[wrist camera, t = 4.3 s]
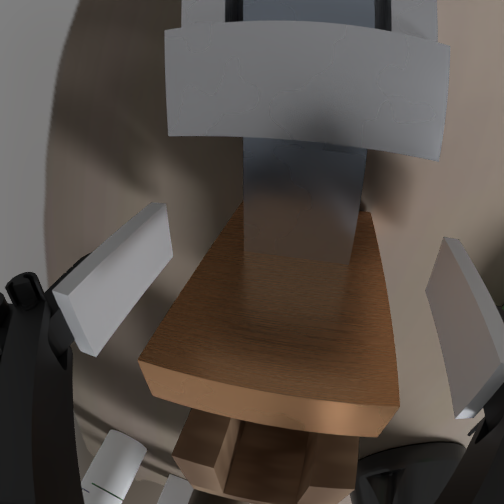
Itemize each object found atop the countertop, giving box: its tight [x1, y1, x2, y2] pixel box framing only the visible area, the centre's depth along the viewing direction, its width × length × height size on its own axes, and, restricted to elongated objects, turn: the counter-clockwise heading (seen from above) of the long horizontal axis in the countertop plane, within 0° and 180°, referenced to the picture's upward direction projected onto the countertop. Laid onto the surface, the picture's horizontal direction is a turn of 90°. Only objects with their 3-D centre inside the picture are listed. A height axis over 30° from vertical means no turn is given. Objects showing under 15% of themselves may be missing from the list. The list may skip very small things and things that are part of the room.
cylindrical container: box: [81, 430, 147, 504], centre depth 32 cm, size 7×7×25 cm
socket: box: [171, 408, 360, 504], centre depth 19 cm, size 10×8×9 cm
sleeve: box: [165, 0, 450, 162], centre depth 8 cm, size 7×6×6 cm
